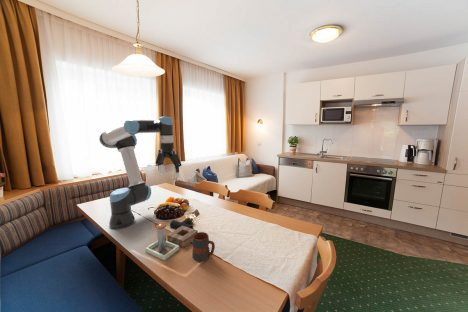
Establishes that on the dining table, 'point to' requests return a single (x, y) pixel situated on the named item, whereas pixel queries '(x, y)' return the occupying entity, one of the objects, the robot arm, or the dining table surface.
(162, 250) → the pin
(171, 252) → the pale green rectangular frame
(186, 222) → the pipe connector
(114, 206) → the robot arm
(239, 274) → the dining table surface
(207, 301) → the dining table surface
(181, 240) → the socket block
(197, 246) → the mug
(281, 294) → the dining table surface
